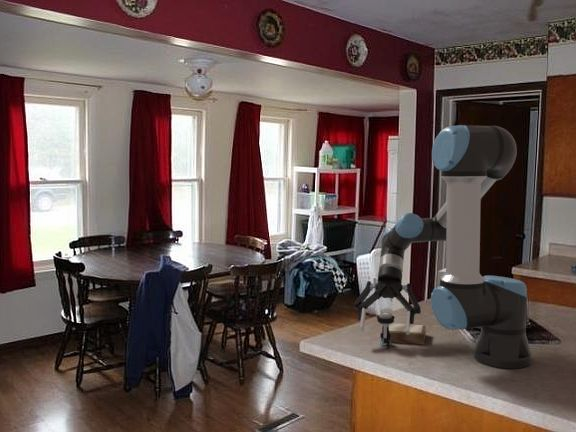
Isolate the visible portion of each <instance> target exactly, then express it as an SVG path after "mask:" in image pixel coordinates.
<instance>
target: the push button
mask: <svg viewBox="0 0 576 432" xmlns="http://www.w3.org/2000/svg"><path fill="white" fill-rule="evenodd" d="M376 321H377V322H378V324H380V325H382V327H381V329H382V331H381V332H380V344H379V345H380V346H381V348H383V349H388V348H389V346H391V343H392V342H391V340H390V338H391V334H390V333H389V326H388V325H389V324H392V323H394V321H395V316H394V315H392V312H390V311H382V312H379V314H378V315H376Z"/></svg>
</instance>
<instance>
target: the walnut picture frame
mask: <svg viewBox="0 0 576 432" xmlns="http://www.w3.org/2000/svg"><path fill="white" fill-rule="evenodd" d="M406 324H407V323H394V322H393V323H392V324H389V325H388V326H389V333H390V334H391V338H390V340H391V343H403V344H416V345H424V344H425V339H426V329H427V327H426V325H425V324H424V325H423V324H410V330H409V335H406Z"/></svg>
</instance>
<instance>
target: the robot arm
mask: <svg viewBox="0 0 576 432" xmlns="http://www.w3.org/2000/svg"><path fill="white" fill-rule="evenodd" d="M517 149H518V148H517V143H516V140H515V139H514V137H513V135H512V134H511V133H510V132H509V131H508V130H507V129H506V128H503V127H502V126H498V125H468V124H467V125H466V124H463V125H462V124H459V125H451V126H447V127H444V128H443V129H442V130H440V132H439V133H438V134H437V136H436V137H435V139H434V142H433V145H432V149H431V160H432V162H433V165H434V167H435V168H436V169H437V170H439V171H440V174H441V175H440V176H441V179H442V180H443V181H444V182H445V183H446V201H445V202H444V204H443V205H442V206H441V208H439V210H438V211H437V212H436V214H435V215H434V217H425V218H424V217H423V218H421V217H420V216H419V215H418V214H416V213H415V214H414V213H413V212H407V213H404V214H403V215H402V216H401V217H400V218H399V219H398V220H397V221H396V223H395V225H394V226H393V227H390V228H388V229H386V230H384V231H383V234H382V238H381V248H380V255H379V256H380V257H379V265H378V273H377V280H376V283H372V282H371V281H367V282H366V285H365V287H364V288H363V290H362V291H361V292H360V294H359V296H358V297H357V298H356V299H355V301H354V302H353V309H354V310H356V311H358V313H357V314H358V315H357V319H358V321H359V329H360V332H364V329H365V323H366V322H365V321H366V313H367V312H366V310H367V309H368V308H369V307H370V306H371V305H372V304H374V303H375V302H376V301H378V300H380V299H381V298H383V299H394V298H396V300H397V301H399V303H400V304H401V305H402V307H404V309H405V310H406V311H407V314H406V323H405V324H406V335H409V330H410V324H412V325H414V322H415V315H416V314H418V315H420V314H421V312H422V311H421V306H420V304H419V302H418V300H417V298H416V297H415V294H414V293H413V290H412V283H407V284H404V285H403V284H402V282H403V280H402V279H403V272H404V270H403V269H404V259H405V252H406V250H407V249H408V248H409V247H410V246H411V244H413V243H425V242H441V241H443V242H446V243H445V244H446V246H445V249H446V250H445V268H446V272H445V274H443V275H442V276H441V277H440V286H438V285H437V286H436V287H434V288H433V290H432V292H431V296H430V306H431V310H432V313H433V315H434V318H435V319H436V321H437V322H438V323H439V324H440V325H441V327H443V328H445V329H447V330H451V331H452V330H460V331H462V330H463V331H464V330H465V329H466V330H467V329H473V328H479V327H481V328H480V329H481V330H480V333H479V336H478V338H477V341H476V343H475V346H474V353H473V354H474V355H473V357H474V359H475V360H476V361H478V362H479V363H481V364H483V365H487V366H491V367H495V368H501V369H521V368H526V367H529V366H531V365H532V361H533V355H532V354H533V353H532V351H531V346H530V344H529V341H528V338H527V330H526V329H527V308H528V306H527V305H528V298H529V297H528V294H527V293H528V292H527V290H528V289H527V285H526V282H523V281H522V280H519V279H515V278H512V277H511V278H510V277H505V276H498V275H484V276H483V275H482V274H481V273H480V263H481V262H480V260H481V259H480V258H481V257H480V256H481V254H480V253H481V252H480V251H481V245H480V243H481V201H482V198H483V197H484V196H485V194H486V193H487V192H488V191H489V190H490V188H491V187H492V186H493V185H494V183H496V182H497V181H499V180H502V179H503V178H504V177H506V175H507V174H509V172H510V170H511V169H512V168H513V165H514V164H515V161H516V158H517V155H518V153H517V152H518V151H517ZM374 289H375V290H374ZM373 290H374V292H373V293H372V294H371V295H370V293H371V291H373ZM402 291H404V292H405V293H407V296H408V298H409V300H410V302H411V303H410V302H409V301H408V300H407V299H406V298H405V297H404V295H403V294H402ZM369 295H370V296H369ZM368 296H369V297H368ZM411 304H412V305H411Z"/></svg>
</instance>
